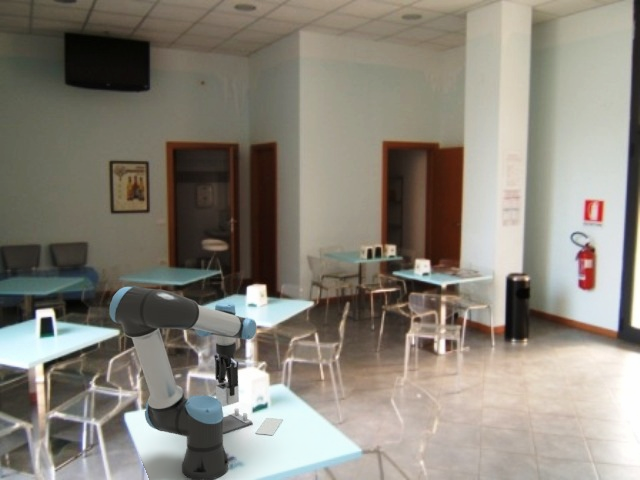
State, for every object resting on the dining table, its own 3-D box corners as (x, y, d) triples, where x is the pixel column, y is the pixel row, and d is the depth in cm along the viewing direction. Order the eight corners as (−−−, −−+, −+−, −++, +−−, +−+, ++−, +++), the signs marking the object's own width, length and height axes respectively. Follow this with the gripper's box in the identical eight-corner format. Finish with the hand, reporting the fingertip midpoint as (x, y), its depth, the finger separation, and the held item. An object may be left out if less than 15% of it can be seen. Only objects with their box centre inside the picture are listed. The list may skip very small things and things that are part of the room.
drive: (223, 406, 222) (222, 388, 221) (216, 402, 226) (215, 385, 225) (238, 401, 227) (238, 384, 226) (231, 398, 230) (231, 380, 230)
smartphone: (254, 433, 219) (266, 417, 234) (254, 435, 219) (266, 419, 234) (272, 435, 218) (283, 419, 232) (272, 436, 218) (283, 420, 232)
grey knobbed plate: (217, 436, 217) (217, 426, 217) (200, 426, 226) (200, 416, 226) (252, 424, 228) (252, 415, 227) (235, 415, 237) (235, 406, 236)
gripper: (247, 345, 219) (248, 405, 222) (221, 335, 233) (222, 392, 235) (230, 349, 214) (231, 410, 217) (205, 339, 228) (206, 396, 230)
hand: (227, 400), depth 226 cm, fingers closed on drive, 5 cm apart
